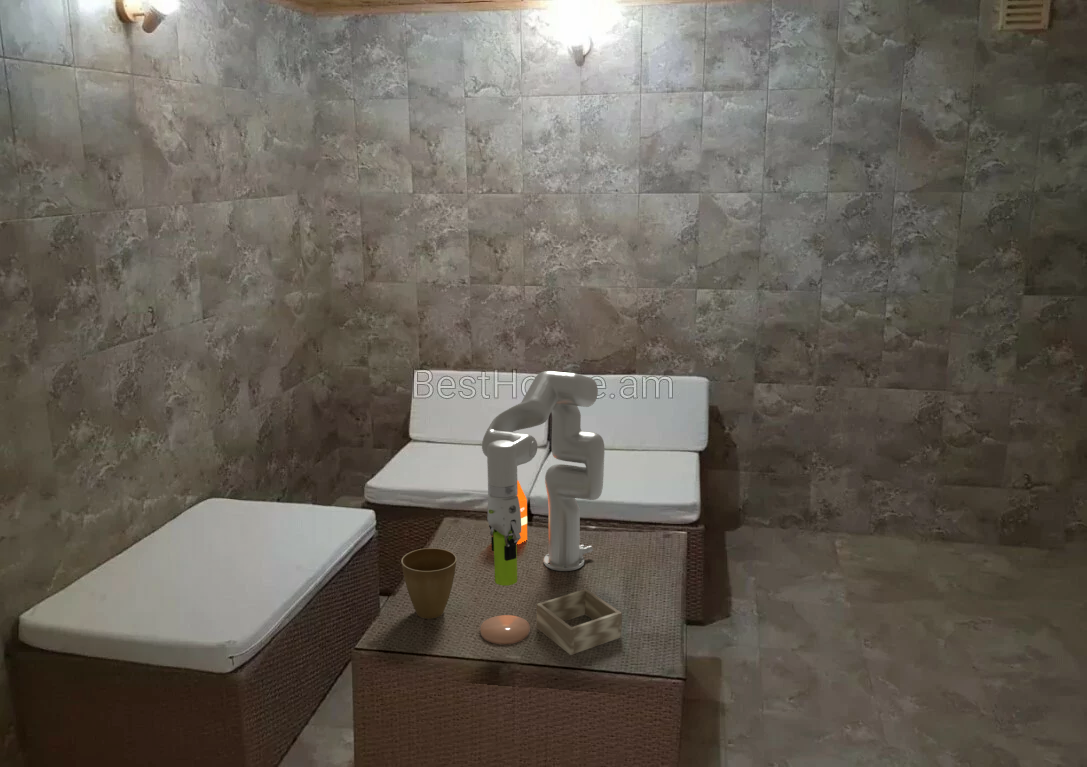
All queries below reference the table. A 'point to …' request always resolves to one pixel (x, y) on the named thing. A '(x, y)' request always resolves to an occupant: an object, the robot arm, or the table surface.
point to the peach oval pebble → (505, 629)
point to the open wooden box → (583, 635)
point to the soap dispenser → (503, 561)
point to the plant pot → (429, 579)
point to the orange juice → (522, 513)
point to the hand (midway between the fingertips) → (503, 554)
